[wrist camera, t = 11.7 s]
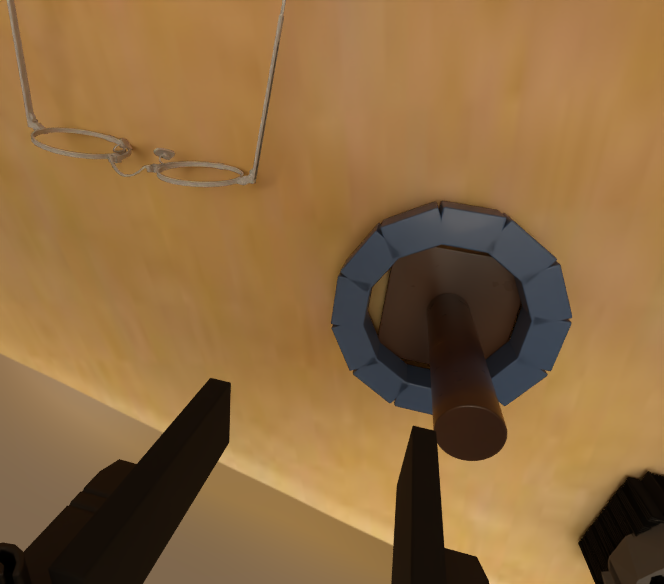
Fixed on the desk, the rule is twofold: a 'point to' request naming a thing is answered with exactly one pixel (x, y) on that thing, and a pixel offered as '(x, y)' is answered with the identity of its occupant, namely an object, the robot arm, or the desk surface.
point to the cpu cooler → (629, 535)
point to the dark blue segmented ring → (468, 233)
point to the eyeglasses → (123, 142)
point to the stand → (454, 339)
